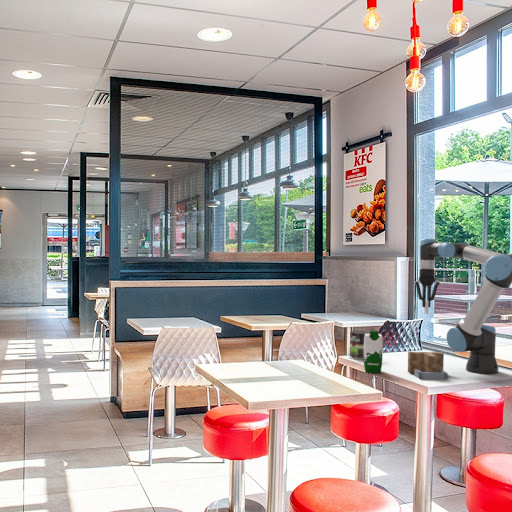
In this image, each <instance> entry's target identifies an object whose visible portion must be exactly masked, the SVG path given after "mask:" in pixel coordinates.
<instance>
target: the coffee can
mask: <svg viewBox="0 0 512 512" xmlns="http://www.w3.org/2000/svg"><path fill="white" fill-rule="evenodd" d="M349 334H350V335H349V336H350V337H349V357H350V356H351V357H352V358H354V359H353V360H361V359H364V338H365V334H370V331H365V330H364V331H363V330H352V331H351V330H350V332H349ZM352 358H351V359H352Z"/></svg>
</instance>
